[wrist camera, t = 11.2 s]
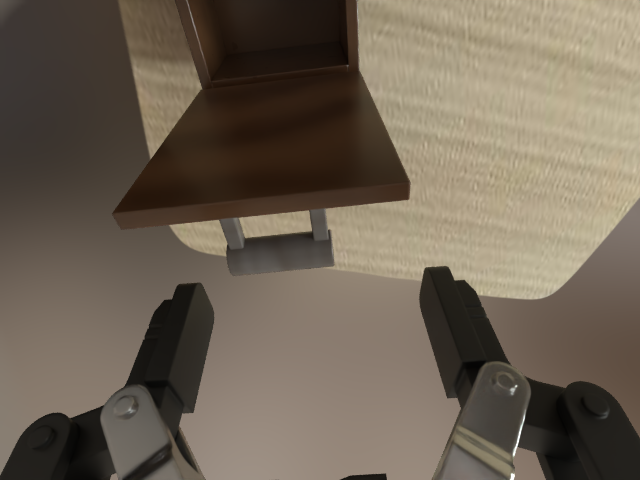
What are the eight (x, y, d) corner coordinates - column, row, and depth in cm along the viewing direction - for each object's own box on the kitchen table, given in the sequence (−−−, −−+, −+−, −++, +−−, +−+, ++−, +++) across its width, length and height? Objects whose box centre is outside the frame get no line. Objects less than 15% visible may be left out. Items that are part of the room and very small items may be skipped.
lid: (110, 214, 13) (165, 307, 16) (411, 181, 13) (403, 284, 16) (200, 89, 24) (222, 160, 28) (360, 70, 24) (362, 144, 27)
